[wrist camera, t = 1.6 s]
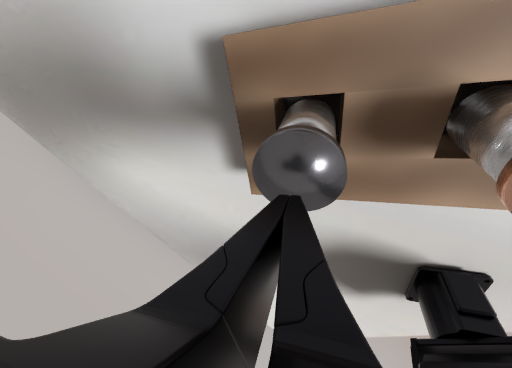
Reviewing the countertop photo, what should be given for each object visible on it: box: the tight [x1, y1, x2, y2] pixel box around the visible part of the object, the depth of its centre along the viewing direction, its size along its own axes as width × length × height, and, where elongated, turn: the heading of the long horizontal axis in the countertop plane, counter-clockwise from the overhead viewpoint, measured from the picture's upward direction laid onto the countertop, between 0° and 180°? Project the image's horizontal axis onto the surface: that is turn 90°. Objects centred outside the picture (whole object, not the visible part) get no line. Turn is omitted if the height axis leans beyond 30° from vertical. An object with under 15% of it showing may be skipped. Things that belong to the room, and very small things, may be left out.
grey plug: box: [252, 99, 347, 211], centre depth 13 cm, size 4×4×7 cm
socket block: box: [222, 0, 512, 210], centre depth 15 cm, size 12×20×4 cm, turn 98°
